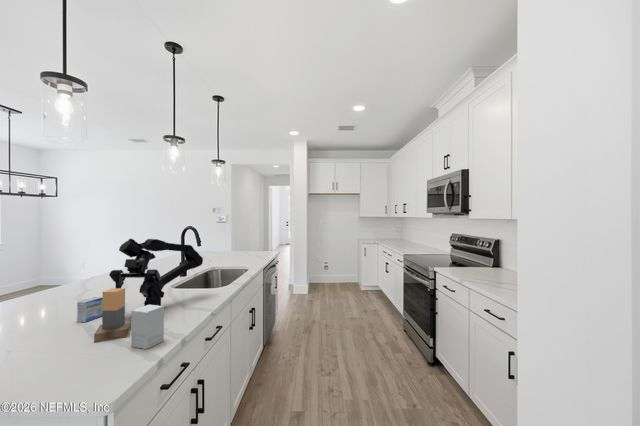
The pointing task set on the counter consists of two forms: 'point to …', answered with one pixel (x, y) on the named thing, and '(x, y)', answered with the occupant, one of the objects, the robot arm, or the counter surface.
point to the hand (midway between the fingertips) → (128, 292)
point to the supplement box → (147, 326)
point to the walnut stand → (112, 332)
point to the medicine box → (89, 309)
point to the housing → (113, 308)
